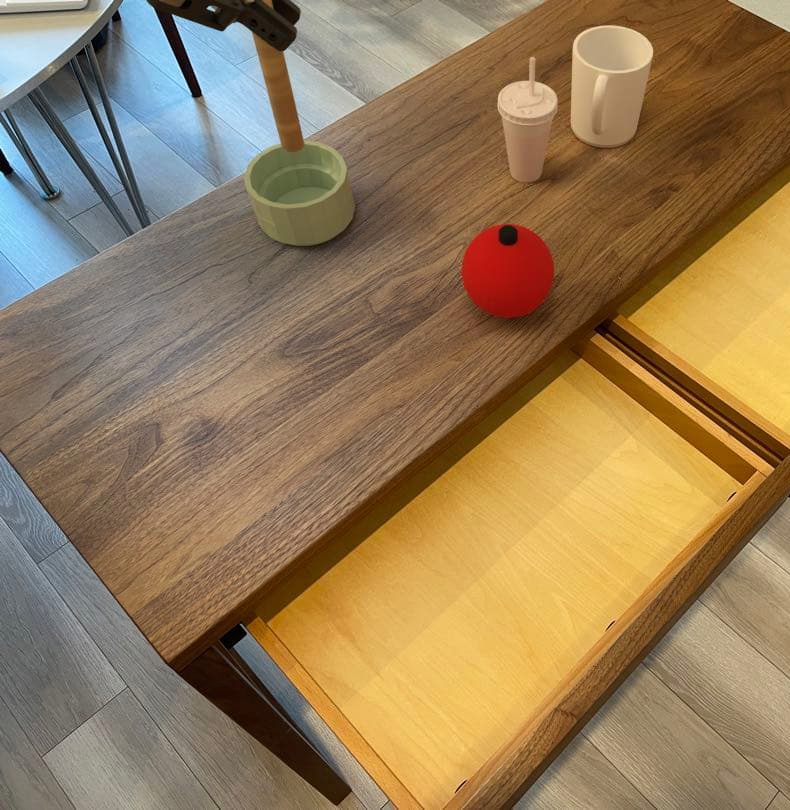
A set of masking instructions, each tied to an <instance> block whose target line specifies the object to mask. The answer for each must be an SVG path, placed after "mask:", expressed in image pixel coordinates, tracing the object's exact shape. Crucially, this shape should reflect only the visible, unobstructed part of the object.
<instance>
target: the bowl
mask: <svg viewBox="0 0 790 810" xmlns="http://www.w3.org/2000/svg"><path fill="white" fill-rule="evenodd" d="M303 140H304V147H303V148H302V149H301V150H299V151H297V152H287V151H285V150H284V149H283V148H282V146H281V143H277V144H275V145H271V146H269V147H267V148H266V149H264V150H262V151H261V152H259V153H258V154H256V155H255V156H254V157H253V158H252V160H250V162H249V163H248V164H247V166H246V170H245V172H244V175H243V182H244V185H245V189H246V192H247V196H248V198H249V201H250V204H251V206H252V209H253V212H254V215H255V217H256V220H257V222H258V225H259V228H261V230H262V231H263V232H264V233H265V235H266V236H267V237H269V238H271V239H273V240H275V241H277V242H278V243H281V244H286V245H291V246H295V247H296V246H297V247H310V246H311V247H312V246H316V245H320V244H323V243H326V242H329V241H330V240H332V239H334V238H335V237H337V236H338V235H339V234H340V233H342V232H344V231H345V230H346V228H347V227H348V226H349V224H350V223H351V222H352V220H353V218H354V215H355V209H356V204H355V200H354V196H353V189H352V185H351V181H350V176H349V171H348V167H347V164H346V161H345V158H344V157H343V156H342V155H341V154H340V152H339V151H337V150H336V149H335V148H333V147H331V146H329V145H328V144H325V143H323V142H320V141H313V140H307V139H303Z"/></svg>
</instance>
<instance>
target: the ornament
mask: <svg viewBox="0 0 790 810" xmlns="http://www.w3.org/2000/svg"><path fill="white" fill-rule="evenodd" d="M463 254H464V255H463V257H462V258H463V259H462V262H461V278H462V283H463V286H464V287H463V288H464V290H465V291H466V293H467V295H468V297H469V299H470V300H471V301H472V303H474V305H476V306H477V307H478V309H480V310H481V311H483V312H485V313H487V314H489V315H490V316H494V317H497V318H505V319H513V318H520V317H522V316H526V315H528V314H530V313H532V312H533V311H535V310H536V309H537V308H538V307H539V306H540V305H542V304H543V303H544V301H545V300H546V299H547V297H548V296H549V294H550V292H551V290H552V288H553V283H554V278H555V265H554V264H555V263H554V259H553V256H552V253H551V250H550V248H549V247H548V245H547V243H546V242H545V241H544V240H543V238H542V237H540V236H539V235H538V234H537V233H536V232H534V231H533V230H531V229H530V228H528V227H526V226H523V225H519V224H516V223H515V224H514V223H502V224H496V225H493V226H490V227H487V228H486V229H484V230H483V231H481V232H480V233H478V234H477V235H475V237H474V238H473V239H472V240H471V241H470V243H469V245H468V247H467V248H466V249H465V252H464V253H463Z"/></svg>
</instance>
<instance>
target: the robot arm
mask: <svg viewBox="0 0 790 810" xmlns="http://www.w3.org/2000/svg"><path fill="white" fill-rule="evenodd" d="M145 1H146V3H148V5H149V6H151V8H154V9H156V10H158V11H161V12H163V13H167V14H168V15H169V14H170V15H171V16H172V15H173V16H175V17H178V18H181V19H184V20H187V21H188V22H189V21H190V22H192V23H195V24H198V25H201V26H204V27H207V28H208V29H209V28H210V29H212V30H215V31H218V32H225V31H226V29H227V28H228V27H229V26H231V25H232V24H236V23H237V24H241V25H242V26H244V27H245V28H246V29H248V30H249V31H250V32H251V33H252V32H253V33H254V34H256V35H257V36H258V37H260V38H261V39H262V40H264V41H265V42H266V43H267V44H269V45H270V46H271V47H274V48H275V49H277V50H278V51H283V52H285V51H286V50H287V49H288V48H289V47H290V46H291V45H292V43H294V42H295V40H297V35H298V29H297V28H296V24H297V23H298V22H299V21H300V19H301V14H302V10H301V8H300V7H299V6H298V4H297V5H296V4H295V2H293V1H292V0H272V4H273V8H274V10H273V9H272V8H271V7H270V6H268V5H267V4H266V3H265V2H263V1H262V0H145ZM209 7H210V8H212V10H211V9H209Z"/></svg>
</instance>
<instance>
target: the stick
mask: <svg viewBox="0 0 790 810" xmlns="http://www.w3.org/2000/svg"><path fill="white" fill-rule="evenodd" d="M262 1H263V2H265V3H266V4H267V5H268V6H270V7H271V8H272V9H273V10H274V8H273V4H272V0H262ZM251 35H252V38H253V42H254V46H255V50H256V53H257V57H258V61H259V64H260V65H259V66H260V69H261V72H262V76H263V80H264V84H265V89H266V92H267V96H268V99H269V103H270V107H271V111H272V116H273V119H274V122H275V127H276V130H277V131H276V132H277V134H278V135H277V136H278V138H279V142H280V144H281V146H282V148H283V149H284V150H285V151H287V152H297V151H299V150H301V149H302V148H303V147H304V140H305V139H304V135H303V131H302V127H301V122H300V118H299V114H298V109H297V105H296V101H295V100H296V99H295V95H294V92H293V88H292V82H291V77H290V73H289V69H288V66H287V65H288V64H287V62H286V57H285V51H278V50H277V49H275V48H274V47H271V46H270V45H269V44H267V43H266V42H265V41H264V40H262V39H261V38H260V37H258V36H257V35H256V34H254V33H253V32H252V31H251Z"/></svg>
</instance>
